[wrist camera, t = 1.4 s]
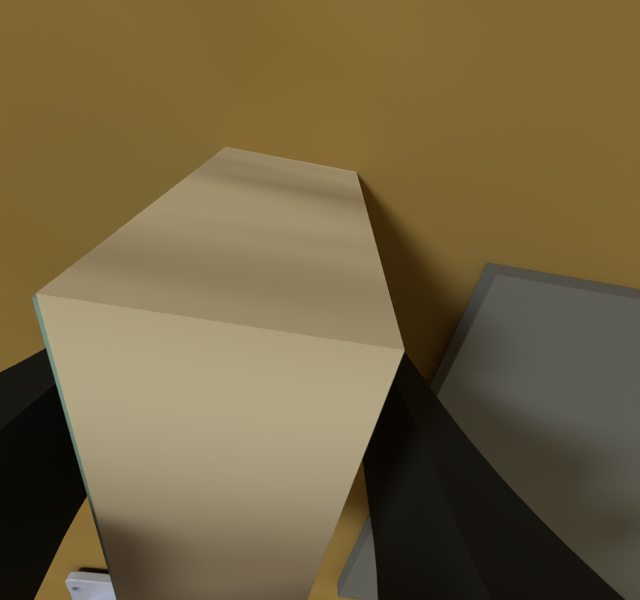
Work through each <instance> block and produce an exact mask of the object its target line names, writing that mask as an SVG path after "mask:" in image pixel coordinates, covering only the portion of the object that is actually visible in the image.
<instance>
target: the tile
mask: <svg viewBox="0 0 640 600" xmlns="http://www.w3.org/2000/svg"><path fill="white" fill-rule="evenodd" d="M32 299H33V303H34V306H35V310H36V313H37V317H38V321H39V324H40V328H41V331H42V335H43V338H44V342H45V346H46V349H47V353H48V356H49V360H50V364H51V367H52V371H53V374H54V378H55V382H56V385H57V389H58V392H59V396H60V399H61V403H62V407H63V410H64V414H65V417H66V421H67V425H68V428H69V432H70V435H71V439H72V443H73V446H74V450H75V453H76V457H77V460H78V464H79V468H80V471H81V475H82V478H83V482H84V486H85V489H86V493H87V496H88V500H89V504H90V507H91V511H92V514H93V518H94V522H95V525H96V529H97V532H98V536H99V539H100V543H101V547H102V550H103V554H104V557H105V561H106V565H107V568H108V572H109V575H110V579H111V583H112V586H113V590H114V593H115V597H116V600H307V599H308V596H309V594H310V591H311V588H312V586H313V583H314V581H315V578H316V576H317V573H318V571H319V568H320V565H321V563H322V560H323V558H324V555H325V553H326V550H327V548H328V545H329V542H330V540H331V537H332V535H333V532H334V530H335V527H336V525H337V522H338V519H339V517H340V514H341V512H342V509H343V507H344V504H345V501H346V499H347V496H348V494H349V491H350V489H351V486H352V484H353V481H354V478H355V476H356V473H357V471H358V468H359V466H360V463H361V461H362V458H363V455H364V453H365V450H366V448H367V445H368V443H369V440H370V438H371V435H372V432H373V430H374V427H375V425H376V422H377V420H378V417H379V415H380V412H381V409H382V407H383V404H384V402H385V399H386V397H387V394H388V392H389V389H390V386H391V384H392V381H393V379H394V376H395V374H396V371H397V369H398V366H399V363H400V361H401V358H402V356H403V353H404V351H405V350H404V346H403V342H402V339H401V335H400V331H399V328H398V324H397V320H396V317H395V313H394V309H393V305H392V302H391V298H390V294H389V291H388V287H387V283H386V280H385V276H384V272H383V268H382V265H381V261H380V257H379V254H378V250H377V246H376V243H375V239H374V235H373V231H372V228H371V224H370V220H369V217H368V213H367V209H366V205H365V202H364V198H363V194H362V191H361V187H360V183H359V180H358V176H357V172H354V171H349V170H344V169H338V168H333V167H328V166H323V165H317V164H312V163H307V162H302V161H296V160H291V159H286V158H281V157H275V156H270V155H265V154H260V153H255V152H249V151H244V150H239V149H234V148H228V147H225V148H223V149H222V150H221V151H220V152H218V153H217V154H216V155H214V156H213V157H212V158H210V159H209V160H208V161H207V162H205V163H204V164H203V165H201V166H200V167H199V168H198V169H196V170H195V171H194V172H192V173H191V174H190V175H188V176H187V177H186V178H185V179H183V180H182V181H181V182H179V183H178V184H177V185H176V186H174V187H173V188H172V189H170V190H169V191H168V192H166V193H165V194H164V195H163V196H161V197H160V198H159V199H157V200H156V201H155V202H153V203H152V204H151V205H150V206H148V207H147V208H146V209H144V210H143V211H142V212H141V213H139V214H138V215H137V216H135V217H134V218H133V219H131V220H130V221H129V222H128V223H126V224H125V225H124V226H122V227H121V228H120V229H119V230H117V231H116V232H115V233H113V234H112V235H111V236H109V237H108V238H107V239H106V240H104V241H103V242H102V243H100V244H99V245H98V246H96V247H95V248H94V249H93V250H91V251H90V252H89V253H87V254H86V255H85V256H84V257H82V258H81V259H80V260H78V261H77V262H76V263H74V264H73V265H72V266H71V267H69V268H68V269H67V270H65V271H64V272H63V273H62V274H60V275H59V276H58V277H56V278H55V279H54V280H52V281H51V282H50V283H49V284H47V285H46V286H45V287H43V288H42V289H41V290H40V291H38V292H37V293H36V295H35V296H33V297H32Z"/></svg>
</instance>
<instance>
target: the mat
mask: <svg viewBox="0 0 640 600" xmlns="http://www.w3.org/2000/svg"><path fill="white" fill-rule="evenodd" d="M429 387H430V388H431V389H432V391H433V392H434V394H435V395H436V396H437V398H438V399H439V400H440V402H441V403H442V404H443V406H444V407H445V409H446V410H447V411H448V413H449V414H450V415H451V416H452V418H453V419H454V420H455V422H456V423H457V424H458V426H459V427H460V428H461V429H462V431H463V432H464V433H465V434H466V436H467V437H468V438H469V439H470V441H471V442H472V443H473V444H474V446H475V447H476V448H477V449H478V450H479V452H480V453H481V454H482V455H483V456H484V457H485V459H486V460H487V461H488V462H489V463H490V465H491V466H492V467H493V468H494V469H495V470H496V472H497V473H498V474H499V475H500V476H501V477H502V478H503V480H504V481H505V482H506V483H507V484H508V485H509V486H510V487H511V488H512V490H513V491H514V492H515V493H516V494H517V495H518V496H519V497H520V498H521V499H522V500H523V501H524V502H525V503H526V504H527V505H528V506H529V507H530V508H531V510H532V511H533V512H534V513H535V514H536V515H537V516H538V517H539V518H540V519H541V520H542V521H543V522H544V523H545V524H546V525H547V526H548V527H549V528H550V529H551V530H552V531H553V532H554V533H555V534H556V535H557V536H558V537H559V538H560V539H561V540H562V541H563V542H564V543H565V544H566V545H567V546H568V547H569V548H570V549H571V550H572V551H573V552H575V553H576V554H577V555H578V556H579V557H580V558H581V559H582V560H583V561H584V562H585V563H586V564H587V565H588V566H589V567H590V568H591V569H593V570H594V571H595V572H596V573H597V574H598V575H599V576H600V577H601V578H602V579H603V580H604V581H605V582H606V583H607V584H609V585H610V586H611V587H612V588H613V589H614V590H615V591H616V592H617V593H619V594H620V595H621V596H622V597H623V598H624V599H625V600H640V290H638V289H633V288H627V287H621V286H616V285H610V284H604V283H599V282H593V281H587V280H582V279H576V278H570V277H565V276H559V275H553V274H548V273H542V272H536V271H531V270H525V269H519V268H514V267H508V266H502V265H497V264H491V263H487V265H486V267H485V269H484V271H483V273H482V275H481V277H480V280H479V282H478V284H477V286H476V288H475V290H474V292H473V295H472V297H471V299H470V301H469V303H468V305H467V307H466V309H465V312H464V314H463V316H462V318H461V320H460V322H459V324H458V327H457V329H456V331H455V333H454V335H453V337H452V339H451V341H450V344H449V346H448V348H447V350H446V352H445V354H444V356H443V359H442V361H441V363H440V365H439V367H438V369H437V371H436V374H435V376H434V378H433V380H432V382H431V384H430V386H429ZM338 597H342V598H352V599H362V600H378V594H377V573H376V561H375V550H374V541H373V534H372V526H371V519H370V514H369V516H368V519H367V521H366V523H365V525H364V527H363V529H362V531H361V534H360V536H359V538H358V540H357V542H356V544H355V546H354V549H353V551H352V553H351V555H350V557H349V559H348V561H347V563H346V566H345V568H344V570H343V572H342V574H341V576H340V578H339V581H338Z"/></svg>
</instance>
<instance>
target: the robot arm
mask: <svg viewBox="0 0 640 600" xmlns="http://www.w3.org/2000/svg"><path fill="white" fill-rule="evenodd" d="M363 466H364V474H365V481H366V489H367V496H368V504H369V511H370V519H371V526H372V534H373V541H374V550H375V561H376V573H377V594H378V600H625V599H624V598H623V597H622V596H621V595H620V594H619V593H617V592H616V591H615V590H614V589H613V588H612V587H611V586H610V585H609V584H607V583H606V582H605V581H604V580H603V579H602V578H601V577H600V576H599V575H598V574H597V573H596V572H595V571H594V570H593V569H591V568H590V567H589V566H588V565H587V564H586V563H585V562H584V561H583V560H582V559H581V558H580V557H579V556H578V555H577V554H576V553H575V552H573V551H572V550H571V549H570V548H569V547H568V546H567V545H566V544H565V543H564V542H563V541H562V540H561V539H560V538H559V537H558V536H557V535H556V534H555V533H554V532H553V531H552V530H551V529H550V528H549V527H548V526H547V525H546V524H545V523H544V522H543V521H542V520H541V519H540V518H539V517H538V516H537V515H536V514H535V513H534V512H533V511H532V510H531V508H530V507H529V506H528V505H527V504H526V503H525V502H524V501H523V500H522V499H521V498H520V497H519V496H518V495H517V494H516V493H515V492H514V491H513V490H512V488H511V487H510V486H509V485H508V484H507V483H506V482H505V481H504V480H503V478H502V477H501V476H500V475H499V474H498V473H497V472H496V470H495V469H494V468H493V467H492V466H491V465H490V463H489V462H488V461H487V460H486V459H485V457H484V456H483V455H482V454H481V453H480V452H479V450H478V449H477V448H476V447H475V446H474V444H473V443H472V442H471V441H470V439H469V438H468V437H467V436H466V434H465V433H464V432H463V431H462V429H461V428H460V427H459V426H458V424H457V423H456V422H455V420H454V419H453V418H452V416H451V415H450V414H449V413H448V411H447V410H446V409H445V407H444V406H443V404H442V403H441V402H440V400H439V399H438V398H437V396H436V395H435V394H434V392H433V391H432V389H431V388H430V387H429V385H428V384H427V382H426V381H425V380H424V378H423V377H422V375H421V374H420V373H419V371H418V370H417V368H416V367H415V366H414V364H413V363H412V361H411V360H410V359H409V357H408V356H407V355H406V353H403V356H402V358H401V361H400V363H399V366H398V369H397V371H396V374H395V376H394V379H393V381H392V384H391V386H390V389H389V392H388V394H387V397H386V399H385V402H384V404H383V407H382V409H381V412H380V415H379V417H378V420H377V422H376V425H375V427H374V430H373V432H372V435H371V438H370V440H369V443H368V445H367V448H366V450H365V453H364V455H363ZM86 497H87V493H86V489H85V486H84V482H83V478H82V475H81V471H80V468H79V464H78V460H77V457H76V453H75V450H74V446H73V443H72V439H71V435H70V432H69V428H68V425H67V421H66V417H65V414H64V410H63V407H62V403H61V399H60V396H59V392H58V389H57V385H56V382H55V378H54V374H53V371H52V367H51V364H50V360H49V356H48V353H47V349H46V348H45V349H43V350H42V351H40V352H38V353H36V354H34V355H33V356H31V357H29V358H27V359H25V360H23V361H22V362H20V363H18V364H16V365H14V366H12V367H10V368H8V369H6V370H4V371H2V372H0V600H34V599H35V596H36V594H37V592H38V590H39V588H40V586H41V584H42V582H43V579H44V577H45V575H46V573H47V571H48V569H49V567H50V565H51V563H52V561H53V559H54V557H55V554H56V552H57V550H58V548H59V546H60V544H61V542H62V540H63V538H64V536H65V534H66V532H67V530H68V529H69V527H70V525H71V523H72V521H73V519H74V517H75V516H76V514H77V512H78V510H79V509H80V507H81V505H82V504H83V502H84V500H85V499H86ZM66 585H67V587H68V590H69V592H70V594H71V597H72V599H73V600H116V597H115V593H114V590H113V586H112V583H111V579H110V575H109V574H103V573H93V572H83V571H74V572H71V573H70V574H69V575H68V577H67V579H66Z"/></svg>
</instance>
